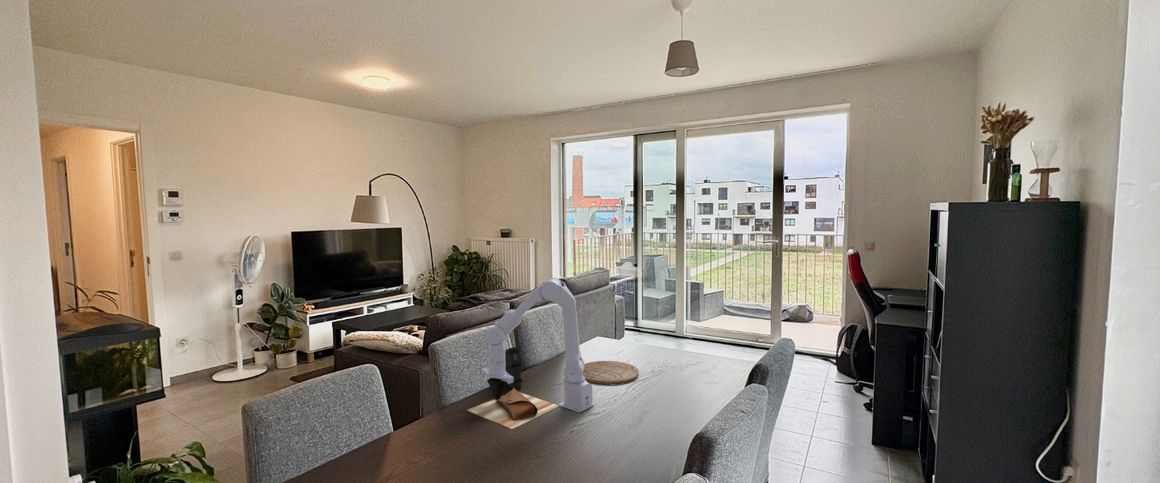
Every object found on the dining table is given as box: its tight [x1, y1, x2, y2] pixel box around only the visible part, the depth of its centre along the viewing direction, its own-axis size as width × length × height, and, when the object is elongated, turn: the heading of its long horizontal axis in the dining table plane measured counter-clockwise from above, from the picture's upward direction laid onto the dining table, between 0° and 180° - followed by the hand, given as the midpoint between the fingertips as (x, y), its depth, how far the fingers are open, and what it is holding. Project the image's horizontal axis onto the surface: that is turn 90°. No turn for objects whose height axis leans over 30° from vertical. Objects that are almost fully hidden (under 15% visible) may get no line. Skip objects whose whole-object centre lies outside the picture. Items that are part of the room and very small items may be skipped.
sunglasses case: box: [495, 388, 538, 419], centre depth 159 cm, size 18×7×7 cm
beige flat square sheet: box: [466, 391, 561, 430], centre depth 160 cm, size 22×22×1 cm
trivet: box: [583, 360, 640, 386], centre depth 194 cm, size 25×25×2 cm
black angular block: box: [505, 346, 523, 390], centre depth 182 cm, size 4×13×15 cm, turn 32°
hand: (497, 398), depth 165 cm, fingers closed
